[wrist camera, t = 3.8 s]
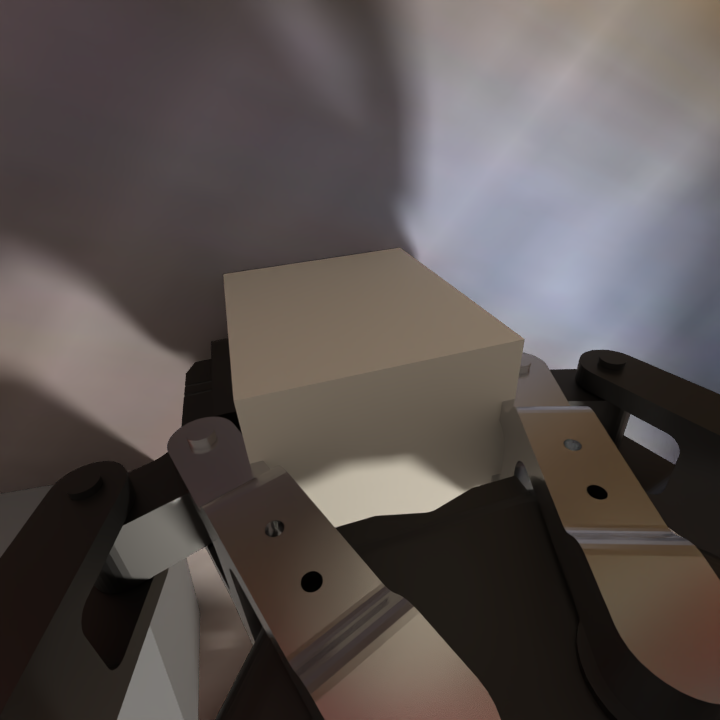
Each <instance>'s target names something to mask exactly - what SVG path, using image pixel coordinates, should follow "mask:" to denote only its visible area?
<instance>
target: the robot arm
mask: <svg viewBox="0 0 720 720" xmlns="http://www.w3.org/2000/svg"><path fill="white" fill-rule="evenodd" d="M211 351H212V359H210V360H204V361H199V362H195V363H194V364H193V366H192V367H191V368H190V369H189V371H188V372H187V373H186V381H185V392H184V395H185V397H184V404H183V416H182V427H181V428H179V429H178V430H177V431H176V432H175V433H174V434H173V435H172V436H171V437H170V439H169V441H168V444H167V450H168V452H167V453H166V454H164V455H163V456H162V457H160V458H158V459H157V460H155V461H153V462H151V463H149V464H147V465H145V466H142V467H140V468H138V469H136V470H133V471H131V472H129V473H127V471H126V469H125V468H124V467H123V466H122V465H121V464H119V463H116V462H111V461H103V462H96V463H92V464H89V465H86V466H83V467H80V468H78V469H76V470H74V471H72V472H70V473H69V474H67V475H66V476H64V477H63V478H61V479H60V480H59V481H58V482H57V483H56V484H54V485H53V486H52V488H51V489H50V490H49V491H48V493H47V494H46V495H45V497H44V498H43V499H42V501H41V502H40V504H39V505H38V506H37V508H36V509H35V511H34V512H33V513H32V515H31V516H30V517H29V519H28V520H27V522H26V523H25V524H24V526H23V527H22V528H21V530H20V531H19V533H18V534H17V535H16V537H15V538H14V540H13V541H12V542H11V544H10V545H9V546H8V548H7V549H6V551H5V552H4V553H3V555H2V556H1V558H0V720H117V718H118V715H119V713H120V710H121V707H122V704H123V701H124V698H125V695H126V692H127V690H128V687H129V684H130V681H131V678H132V675H133V672H134V669H135V666H136V664H137V661H138V658H139V655H140V652H141V649H142V646H143V643H144V640H145V638H146V635H147V632H148V629H149V626H150V623H151V620H152V617H153V615H154V612H155V609H156V606H157V603H158V600H159V597H160V594H161V591H162V589H163V586H164V583H165V580H166V577H167V574H168V570H169V567H171V566H172V565H174V564H176V563H178V562H179V561H181V560H183V559H185V558H186V557H188V556H190V555H192V554H193V553H195V552H197V551H199V550H200V549H202V548H204V547H206V549H207V551H208V553H209V555H210V557H211V559H212V561H213V563H214V565H215V567H216V569H217V571H218V573H219V575H220V577H221V579H222V581H223V583H224V585H225V587H226V589H227V590H228V592H229V594H230V596H231V598H232V600H233V602H234V604H235V607H236V609H237V611H238V613H239V616H240V618H241V620H242V623H243V625H244V627H245V629H246V631H247V634H248V636H249V638H250V640H251V642H252V644H253V647H252V649H251V651H250V653H249V654H248V656H247V658H246V660H245V662H244V664H243V666H242V668H241V670H240V672H239V674H238V676H237V678H236V680H235V682H234V684H233V686H232V688H231V690H230V692H229V694H228V696H227V698H226V700H225V702H224V704H223V705H222V707H221V709H220V711H219V713H218V715H217V717H216V719H215V720H720V394H718V393H715V392H713V391H711V390H708V389H706V388H704V387H701V386H699V385H697V384H694V383H692V382H690V381H687V380H685V379H683V378H680V377H678V376H676V375H673V374H671V373H668V372H666V371H664V370H661V369H659V368H657V367H654V366H652V365H650V364H647V363H645V362H643V361H640V360H638V359H636V358H633V357H631V356H629V355H626V354H623V353H620V352H616V351H610V350H592V351H588V352H585V353H584V354H582V355H581V357H580V359H579V363H578V368H577V369H562V370H549V368H548V366H547V365H546V363H545V362H544V361H543V360H541V359H540V358H538V357H536V356H533V355H531V354H527V353H522V358H521V365H520V371H519V378H518V384H517V390H516V397H515V399H512V400H508V401H503V402H502V405H501V412H500V420H499V421H500V424H501V427H502V430H503V436H504V453H503V459H502V466H501V473H500V474H497V475H493V476H492V478H491V483H487V484H484V485H480V486H477V487H473V488H471V489H469V490H468V491H466V492H464V493H463V494H461V495H459V496H458V497H456V498H454V499H453V500H451V501H449V502H448V503H446V504H444V505H442V506H441V507H439V508H437V509H436V510H434V511H431V512H426V513H411V514H396V515H380V516H373V517H370V518H366V519H363V520H359V521H356V522H352V523H349V524H346V525H342V526H339V527H334V526H333V525H332V524H331V522H330V521H329V520H328V519H327V518H326V516H325V515H324V514H323V513H322V512H321V511H320V509H319V508H318V507H317V506H316V505H315V504H314V502H313V501H312V500H311V499H310V498H309V497H308V495H307V494H306V493H305V492H304V491H303V490H302V488H301V487H300V486H299V485H298V484H297V483H296V481H295V480H294V479H293V478H292V477H291V476H290V474H289V473H288V472H287V471H286V470H285V469H284V468H283V467H282V466H280V465H278V466H276V467H274V468H272V469H270V468H269V467H268V465H267V464H266V463H265V462H264V461H259V462H255V463H251V464H250V463H249V459H248V455H247V451H246V447H245V443H244V439H243V436H242V432H241V428H240V424H239V420H238V416H237V412H236V408H235V405H234V400H233V388H232V376H231V363H230V351H229V339H228V338H227V339H221V340H216V341H212V342H211ZM630 414H632V415H634V416H636V417H638V418H639V419H641V420H643V421H645V422H647V423H649V424H651V425H653V426H655V427H656V428H658V429H660V430H662V431H664V432H666V433H668V434H669V435H671V436H672V437H673V438H674V439H675V440H676V442H677V443H678V445H679V448H680V455H679V458H678V460H677V462H676V464H675V465H674V464H673V463H671V462H669V461H667V460H666V459H664V458H662V457H660V456H659V455H657V454H655V453H653V452H652V451H650V450H648V449H647V448H645V447H643V446H641V445H640V444H638V443H636V442H634V441H633V440H631V439H629V438H627V437H626V436H624V432H625V429H626V426H627V423H628V420H629V417H630ZM668 527H669V528H670V529H672V530H673V531H675V532H676V533H677V534H679V535H680V536H682V537H683V538H682V537H680V536H677V535H675V534H674V533H673V532H671V530H670V529H669V528H668ZM693 544H694V545H693Z"/></svg>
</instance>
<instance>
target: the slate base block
mask: <svg viewBox="0 0 720 720" xmlns="http://www.w3.org/2000/svg"><path fill="white" fill-rule="evenodd" d="M128 473H129V472H128ZM52 486H53V485H49V486H43V487H37V488H31V489H25V490H19V491H13V492H7V493H1V494H0V558H1V556H2V555H3V553H4V552H5V551H6V549H7V548H8V546H9V545H10V544H11V542H12V541H13V540H14V538H15V537H16V535H17V534H18V533H19V531H20V530H21V528H22V527H23V526H24V524H25V523H26V522H27V520H28V519H29V517H30V516H31V515H32V513H33V512H34V511H35V509H36V508H37V506H38V505H39V504H40V502H41V501H42V499H43V498H44V497H45V495H46V494H47V493H48V491H49V490H50V489H51V488H52ZM199 649H200V610H199V606H198V602H197V598H196V594H195V590H194V586H193V582H192V578H191V574H190V570H189V566H188V562H187V558H185V559H183V560H181V561H179V562H178V563H176V564H174V565H172V566H171V567H169V570H168V574H167V577H166V580H165V583H164V586H163V589H162V591H161V594H160V597H159V600H158V603H157V606H156V609H155V612H154V615H153V617H152V620H151V623H150V626H149V629H148V632H147V635H146V638H145V640H144V643H143V646H142V649H141V652H140V655H139V658H138V661H137V664H136V666H135V669H134V672H133V675H132V678H131V681H130V684H129V687H128V690H127V692H126V695H125V698H124V701H123V704H122V707H121V710H120V713H119V715H118V718H117V720H198V700H199Z"/></svg>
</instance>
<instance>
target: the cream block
mask: <svg viewBox="0 0 720 720" xmlns="http://www.w3.org/2000/svg"><path fill="white" fill-rule="evenodd" d="M223 278H224V290H225V303H226V315H227V327H228V339H229V351H230V363H231V376H232V388H233V400H234V405H235V408H236V412H237V416H238V420H239V424H240V428H241V432H242V436H243V439H244V443H245V447H246V451H247V455H248V459H249V463H250V464H251V463H255V462H259V461H264V462H265V463H266V464H267V465H268V467H269V468H270V469H272V468H274V467H276V466H278V465H280V466H282V467H283V468H284V469H285V470H286V471H287V472H288V473H289V474H290V476H291V477H292V478H293V479H294V480H295V481H296V483H297V484H298V485H299V486H300V487H301V488H302V490H303V491H304V492H305V493H306V494H307V495H308V497H309V498H310V499H311V500H312V501H313V502H314V504H315V505H316V506H317V507H318V508H319V509H320V511H321V512H322V513H323V514H324V515H325V516H326V518H327V519H328V520H329V521H330V522H331V524H332V525H333V526H334V527H339V526H342V525H346V524H349V523H352V522H356V521H359V520H363V519H366V518H370V517H373V516H380V515H396V514H411V513H426V512H431V511H434V510H436V509H437V508H439V507H441V506H442V505H444V504H446V503H448V502H449V501H451V500H453V499H454V498H456V497H458V496H459V495H461V494H463V493H464V492H466V491H468V490H469V489H471V488H473V487H477V486H480V485H484V484H487V483H491V478H492V476H493V475H497V474H500V473H501V466H502V459H503V453H504V436H503V430H502V427H501V424H500V421H499V420H500V412H501V405H502V402H503V401H508V400H512V399H515V397H516V390H517V384H518V378H519V371H520V365H521V358H522V352H523V345H524V338H522V337H521V336H520V335H518V334H517V333H515V332H514V331H513V330H511V329H510V328H509V327H507V326H506V325H505V324H503V323H502V322H500V321H499V320H498V319H496V318H495V317H494V316H492V315H491V314H490V313H488V312H487V311H486V310H484V309H483V308H481V307H480V306H479V305H477V304H476V303H475V302H473V301H472V300H471V299H469V298H468V297H467V296H465V295H464V294H462V293H461V292H460V291H458V290H457V289H456V288H454V287H453V286H452V285H450V284H449V283H447V282H446V281H445V280H443V279H442V278H441V277H439V276H438V275H437V274H435V273H434V272H433V271H431V270H430V269H428V268H427V267H426V266H424V265H423V264H422V263H420V262H419V261H418V260H416V259H415V258H414V257H412V256H411V255H409V254H408V253H407V252H405V251H404V250H403V249H401V248H395V249H388V250H381V251H375V252H368V253H361V254H355V255H348V256H341V257H334V258H328V259H321V260H314V261H308V262H301V263H294V264H288V265H281V266H274V267H268V268H261V269H254V270H248V271H241V272H234V273H227V274H223Z"/></svg>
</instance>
